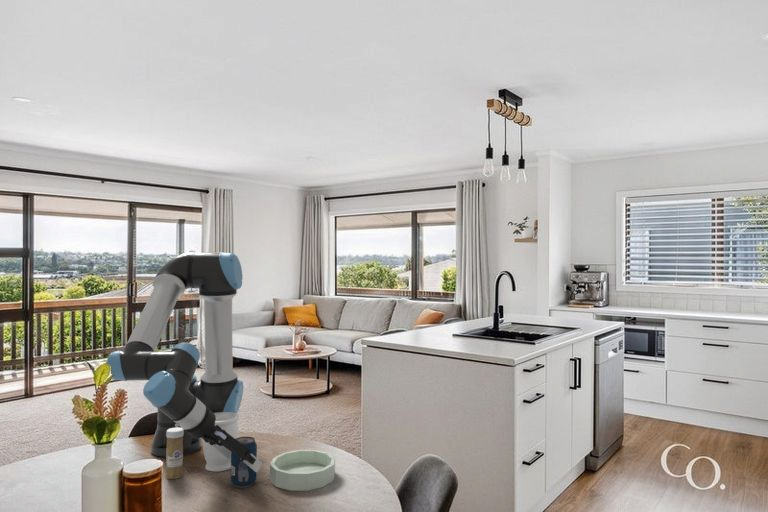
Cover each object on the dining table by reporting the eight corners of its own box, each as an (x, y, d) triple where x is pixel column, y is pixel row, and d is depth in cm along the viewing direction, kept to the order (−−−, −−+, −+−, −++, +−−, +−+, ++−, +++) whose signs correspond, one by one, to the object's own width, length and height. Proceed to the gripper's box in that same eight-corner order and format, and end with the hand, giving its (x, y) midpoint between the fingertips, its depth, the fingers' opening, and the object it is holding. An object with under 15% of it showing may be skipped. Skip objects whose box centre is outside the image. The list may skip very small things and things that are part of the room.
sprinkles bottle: (171, 481, 145) (172, 432, 145) (162, 477, 148) (163, 429, 148) (186, 475, 149) (186, 428, 149) (177, 471, 151) (177, 425, 152)
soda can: (248, 476, 149) (248, 434, 149) (261, 483, 144) (261, 440, 144) (225, 483, 144) (226, 439, 144) (238, 490, 139) (239, 446, 139)
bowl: (262, 471, 152) (262, 456, 152) (319, 460, 161) (319, 446, 161) (283, 495, 136) (283, 478, 137) (345, 482, 146) (345, 465, 146)
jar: (226, 475, 149) (227, 423, 150) (194, 472, 151) (195, 420, 152) (244, 461, 160) (244, 412, 160) (213, 458, 162) (214, 410, 162)
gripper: (162, 420, 139) (212, 461, 150) (210, 442, 123) (262, 486, 133) (181, 397, 143) (228, 438, 154) (230, 415, 127) (280, 460, 138)
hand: (244, 461), depth 144 cm, fingers open, 13 cm apart
